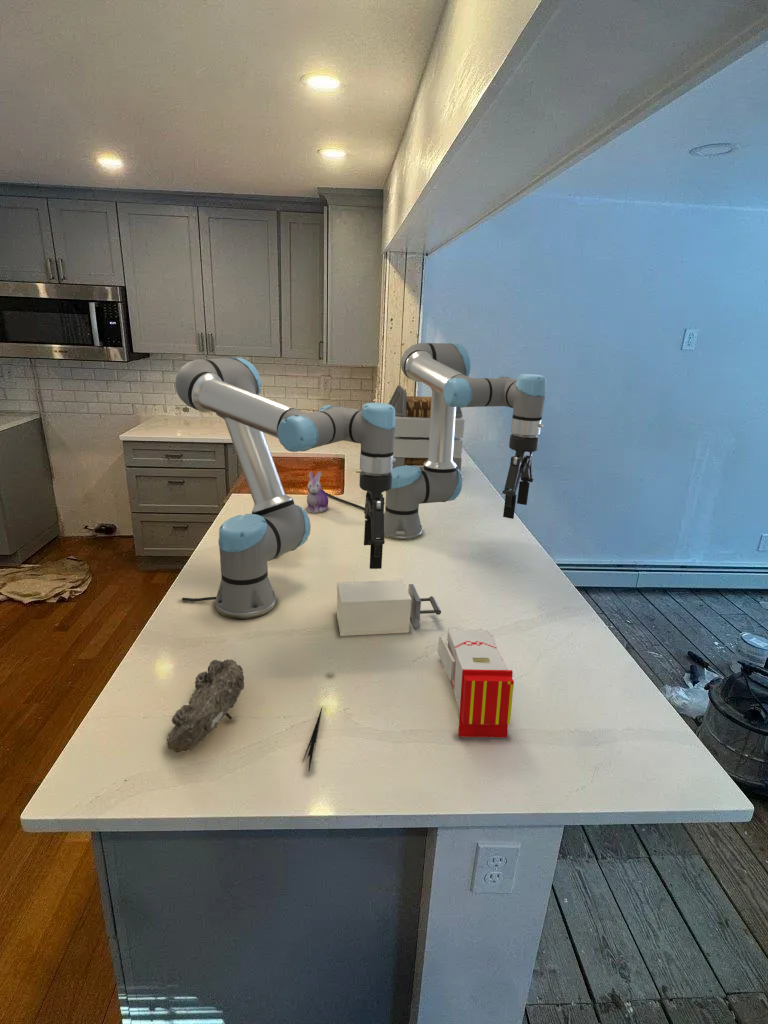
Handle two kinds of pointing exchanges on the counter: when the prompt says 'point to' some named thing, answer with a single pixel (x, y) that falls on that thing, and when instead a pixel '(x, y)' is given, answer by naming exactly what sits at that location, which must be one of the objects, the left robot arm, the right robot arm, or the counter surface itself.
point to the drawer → (416, 605)
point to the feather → (313, 740)
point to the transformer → (418, 430)
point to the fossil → (206, 705)
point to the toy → (478, 682)
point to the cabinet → (373, 607)
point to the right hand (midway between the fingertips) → (515, 510)
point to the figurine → (316, 494)
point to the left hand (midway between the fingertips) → (372, 556)
